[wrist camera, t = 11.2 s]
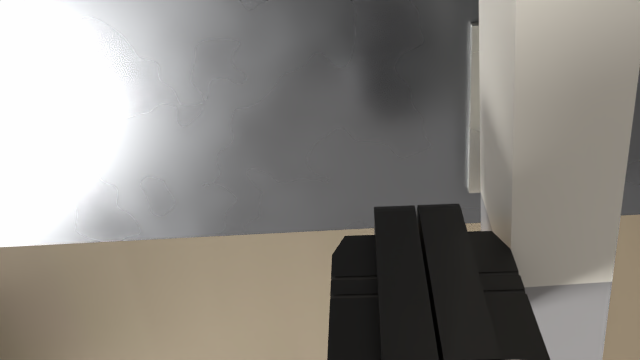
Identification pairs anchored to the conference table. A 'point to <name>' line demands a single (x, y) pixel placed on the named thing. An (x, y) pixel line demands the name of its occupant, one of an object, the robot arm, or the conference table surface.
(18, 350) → the conference table surface
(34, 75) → the levelling base
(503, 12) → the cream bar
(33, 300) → the conference table surface
